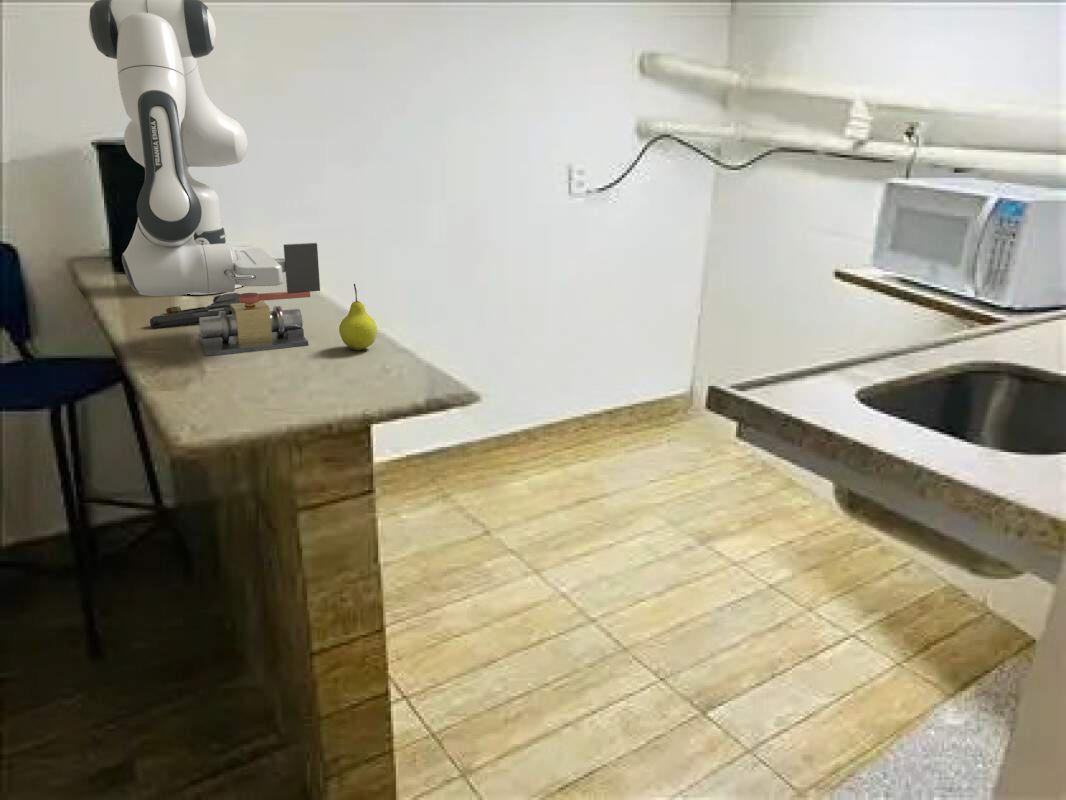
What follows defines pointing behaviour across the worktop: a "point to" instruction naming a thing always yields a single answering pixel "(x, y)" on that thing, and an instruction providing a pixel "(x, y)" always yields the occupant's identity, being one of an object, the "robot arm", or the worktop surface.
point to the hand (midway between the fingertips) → (298, 264)
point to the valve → (251, 329)
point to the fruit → (358, 327)
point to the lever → (294, 274)
